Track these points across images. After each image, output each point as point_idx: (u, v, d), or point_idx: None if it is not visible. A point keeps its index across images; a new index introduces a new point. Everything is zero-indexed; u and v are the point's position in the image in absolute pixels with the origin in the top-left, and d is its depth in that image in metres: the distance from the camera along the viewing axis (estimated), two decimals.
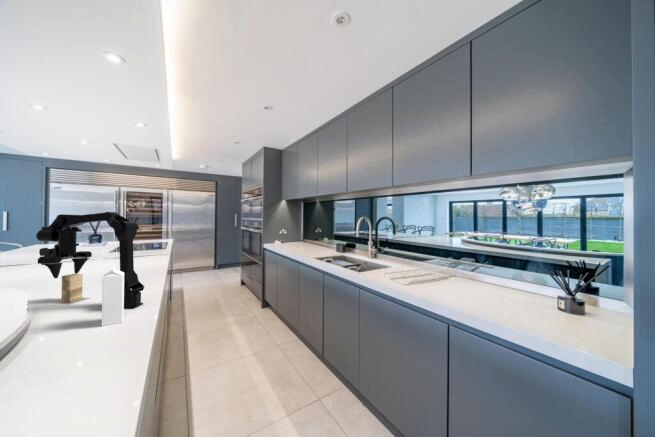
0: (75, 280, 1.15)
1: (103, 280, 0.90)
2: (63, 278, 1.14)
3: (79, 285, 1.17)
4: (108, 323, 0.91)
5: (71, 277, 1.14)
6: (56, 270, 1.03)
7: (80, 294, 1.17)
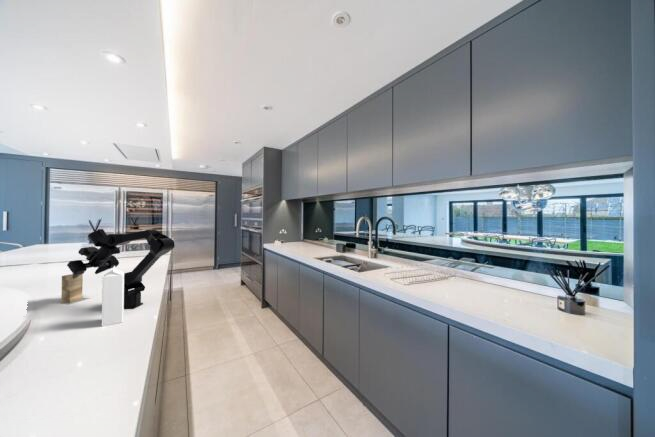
0: (75, 280, 1.15)
1: (103, 280, 0.90)
2: (63, 278, 1.14)
3: (79, 285, 1.17)
4: (108, 323, 0.91)
5: (71, 277, 1.14)
6: (76, 275, 1.08)
7: (80, 294, 1.17)
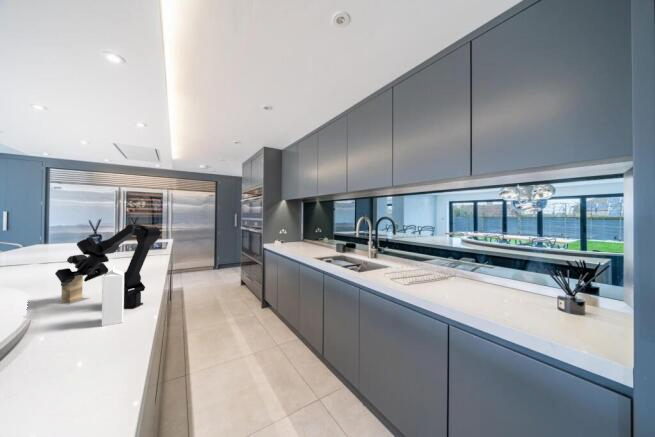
0: (75, 280, 1.15)
1: (103, 280, 0.90)
2: None
3: (79, 285, 1.17)
4: (108, 323, 0.91)
5: None
6: (64, 283, 1.09)
7: (80, 294, 1.17)
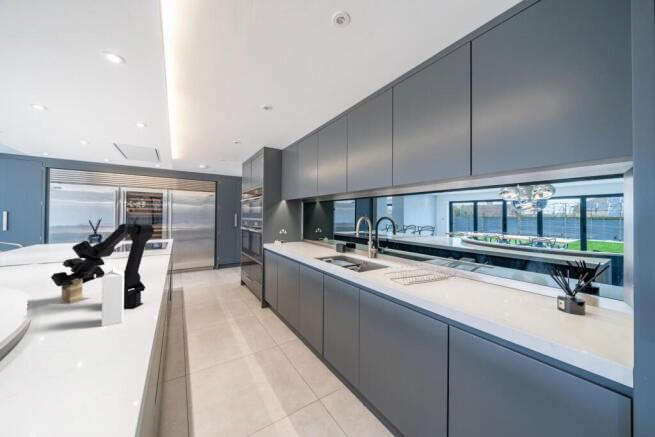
0: (75, 280, 1.15)
1: (103, 280, 0.90)
2: None
3: (79, 285, 1.17)
4: (108, 323, 0.91)
5: None
6: (65, 286, 1.12)
7: (80, 294, 1.17)
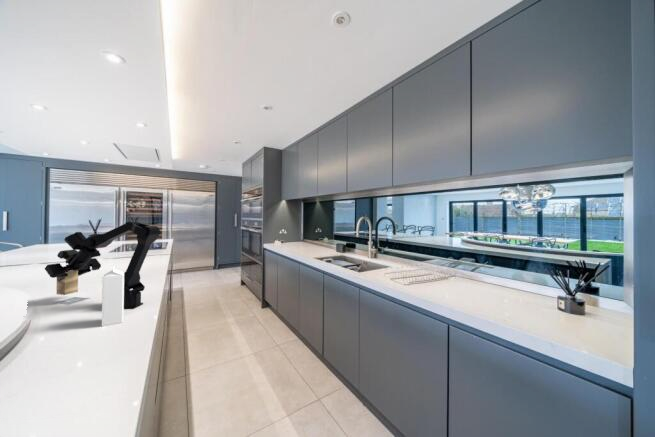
0: (70, 272, 1.12)
1: (103, 280, 0.90)
2: None
3: (74, 277, 1.14)
4: (108, 323, 0.91)
5: None
6: (60, 277, 1.09)
7: (76, 286, 1.14)
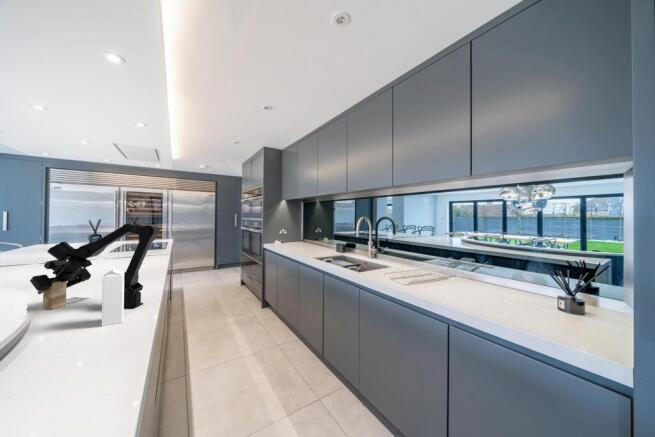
0: (58, 286, 1.06)
1: (103, 280, 0.90)
2: None
3: (62, 292, 1.08)
4: (108, 323, 0.91)
5: (53, 283, 1.05)
6: (41, 291, 1.01)
7: (64, 302, 1.08)
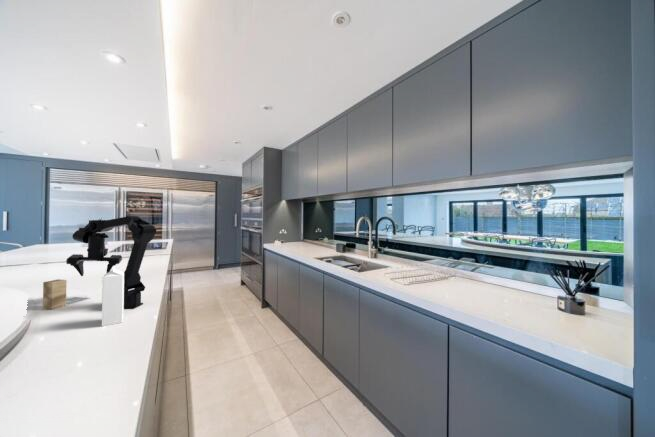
0: (58, 286, 1.06)
1: (103, 280, 0.90)
2: (45, 284, 1.05)
3: (62, 292, 1.08)
4: (108, 323, 0.91)
5: (53, 283, 1.05)
6: None
7: (64, 302, 1.08)
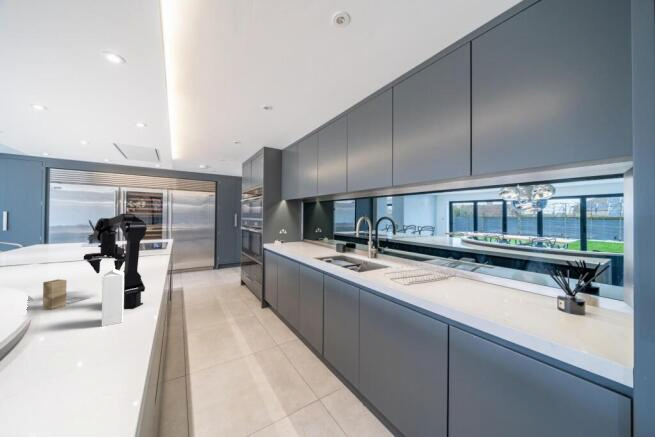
0: (58, 286, 1.06)
1: (103, 280, 0.90)
2: (45, 284, 1.05)
3: (62, 292, 1.08)
4: (108, 323, 0.91)
5: (53, 283, 1.05)
6: None
7: (64, 302, 1.08)
